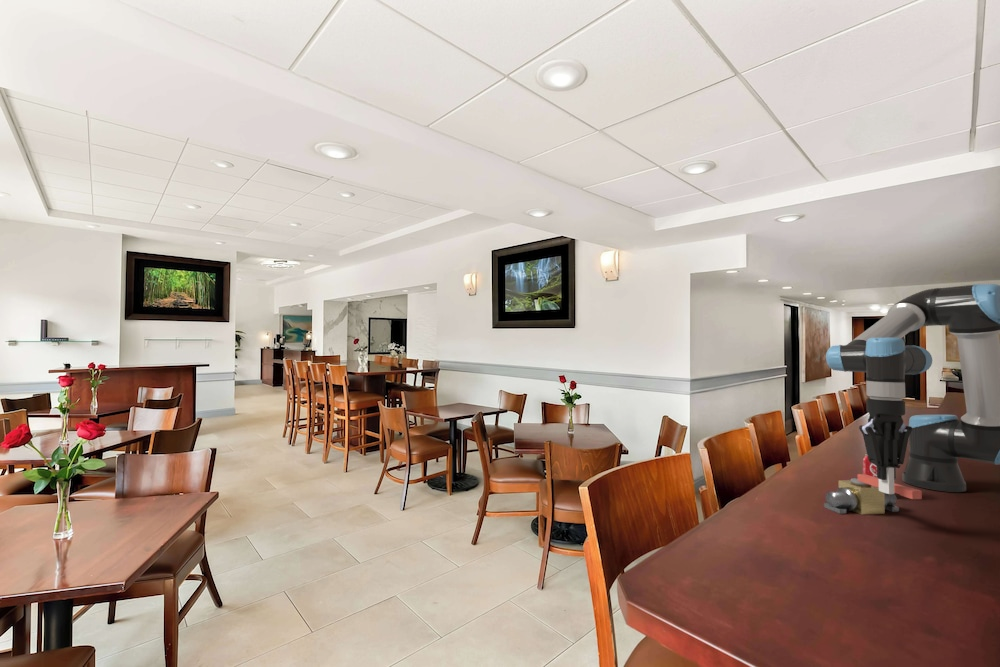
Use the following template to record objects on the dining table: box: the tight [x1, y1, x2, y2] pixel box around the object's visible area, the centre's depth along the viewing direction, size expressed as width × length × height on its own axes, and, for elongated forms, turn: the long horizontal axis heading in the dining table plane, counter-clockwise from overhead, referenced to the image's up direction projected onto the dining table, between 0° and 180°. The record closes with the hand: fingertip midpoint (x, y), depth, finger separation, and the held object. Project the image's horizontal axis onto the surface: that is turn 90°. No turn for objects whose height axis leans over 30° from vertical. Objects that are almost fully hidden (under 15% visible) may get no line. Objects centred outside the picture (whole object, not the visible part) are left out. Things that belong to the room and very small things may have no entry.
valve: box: [823, 479, 900, 515], centre depth 125 cm, size 18×7×7 cm, turn 97°
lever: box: [850, 473, 923, 500], centre depth 119 cm, size 17×4×3 cm, turn 7°
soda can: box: [862, 452, 877, 478], centre depth 138 cm, size 7×7×12 cm
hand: (886, 492), depth 114 cm, fingers closed
